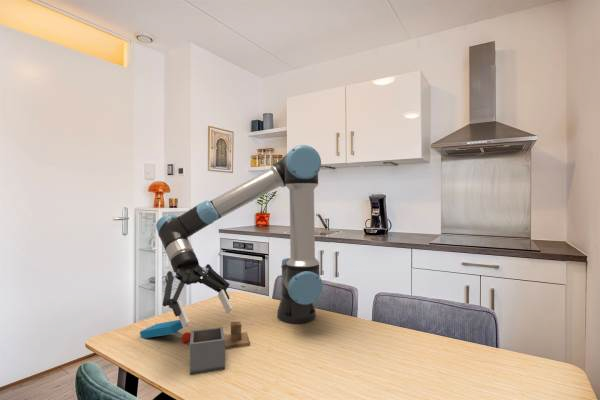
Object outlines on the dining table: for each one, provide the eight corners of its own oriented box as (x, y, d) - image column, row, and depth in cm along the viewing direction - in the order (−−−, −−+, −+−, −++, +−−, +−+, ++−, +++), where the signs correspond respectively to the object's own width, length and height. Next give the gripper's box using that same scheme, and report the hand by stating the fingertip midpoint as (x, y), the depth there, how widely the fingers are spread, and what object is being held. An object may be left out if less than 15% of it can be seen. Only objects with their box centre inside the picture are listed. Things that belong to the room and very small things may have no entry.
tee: (246, 335, 105) (246, 317, 105) (250, 345, 97) (250, 326, 97) (222, 338, 103) (222, 320, 103) (224, 349, 95) (224, 329, 95)
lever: (143, 352, 103) (184, 347, 96) (139, 331, 103) (179, 324, 97) (160, 343, 109) (199, 338, 102) (156, 323, 110) (194, 317, 103)
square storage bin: (222, 353, 93) (222, 326, 93) (224, 369, 84) (224, 339, 84) (191, 358, 90) (191, 330, 90) (189, 374, 81) (189, 344, 81)
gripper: (213, 258, 107) (239, 312, 97) (136, 271, 89) (160, 339, 79) (221, 244, 104) (250, 299, 94) (144, 255, 85) (169, 324, 75)
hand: (209, 317), depth 86 cm, fingers open, 13 cm apart
